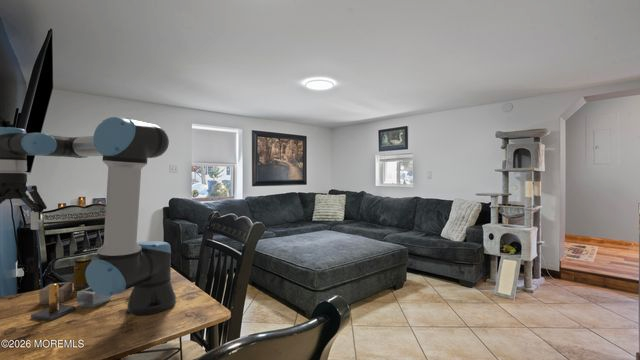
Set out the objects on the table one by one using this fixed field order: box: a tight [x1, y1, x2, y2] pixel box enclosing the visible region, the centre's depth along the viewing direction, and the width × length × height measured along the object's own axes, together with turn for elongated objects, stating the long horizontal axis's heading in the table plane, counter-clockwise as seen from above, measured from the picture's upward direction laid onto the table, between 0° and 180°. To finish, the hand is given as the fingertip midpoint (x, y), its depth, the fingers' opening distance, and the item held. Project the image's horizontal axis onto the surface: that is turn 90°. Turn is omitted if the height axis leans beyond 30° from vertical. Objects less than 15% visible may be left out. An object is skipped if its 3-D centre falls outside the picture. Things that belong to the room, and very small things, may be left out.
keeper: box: [30, 283, 77, 322], centre depth 100 cm, size 8×8×10 cm
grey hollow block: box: [76, 287, 112, 309], centre depth 108 cm, size 7×7×5 cm
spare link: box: [39, 281, 73, 305], centre depth 111 cm, size 7×7×5 cm
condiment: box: [72, 257, 92, 293], centre depth 121 cm, size 7×8×12 cm
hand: (12, 233), depth 104 cm, fingers open, 13 cm apart
